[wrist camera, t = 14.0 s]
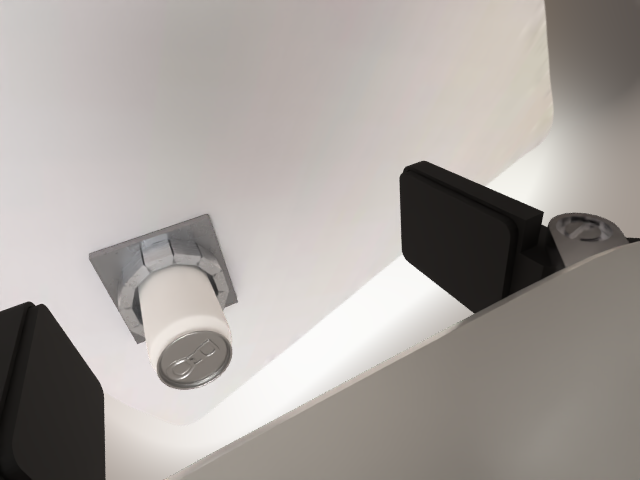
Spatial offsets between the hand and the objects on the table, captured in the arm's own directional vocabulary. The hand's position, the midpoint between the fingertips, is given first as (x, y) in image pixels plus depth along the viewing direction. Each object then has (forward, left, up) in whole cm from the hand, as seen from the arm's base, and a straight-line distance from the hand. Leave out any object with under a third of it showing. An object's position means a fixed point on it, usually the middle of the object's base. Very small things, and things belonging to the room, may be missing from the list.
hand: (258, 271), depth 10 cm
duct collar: (+4, +17, -28) cm, 33 cm away
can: (+4, +17, -28) cm, 32 cm away
